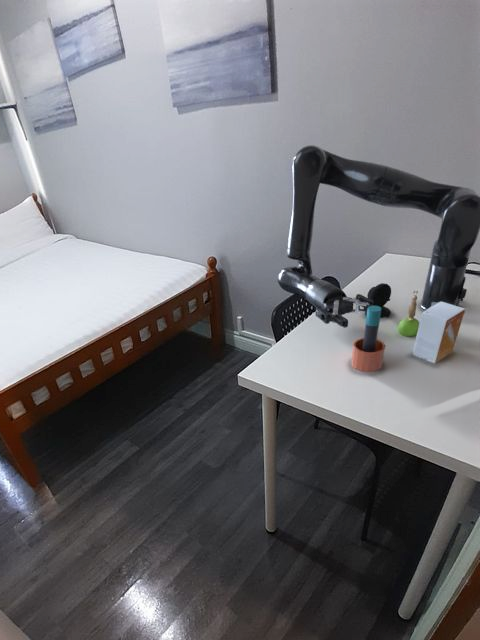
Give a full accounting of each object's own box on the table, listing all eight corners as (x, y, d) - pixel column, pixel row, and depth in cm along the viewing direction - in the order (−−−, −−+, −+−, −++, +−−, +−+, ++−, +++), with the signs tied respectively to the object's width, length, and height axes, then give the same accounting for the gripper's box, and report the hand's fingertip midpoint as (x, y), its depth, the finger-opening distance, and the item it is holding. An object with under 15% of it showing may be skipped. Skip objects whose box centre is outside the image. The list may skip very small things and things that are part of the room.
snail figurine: (418, 329, 116) (427, 291, 109) (418, 341, 111) (427, 301, 104) (397, 328, 118) (404, 290, 111) (396, 339, 114) (403, 300, 106)
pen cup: (369, 355, 109) (372, 334, 106) (388, 369, 104) (392, 347, 100) (345, 363, 108) (347, 342, 104) (363, 377, 102) (366, 356, 98)
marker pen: (367, 359, 107) (375, 304, 97) (375, 364, 104) (384, 309, 95) (357, 362, 106) (364, 307, 97) (365, 368, 104) (373, 312, 94)
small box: (434, 366, 102) (446, 320, 94) (411, 356, 106) (420, 312, 99) (453, 353, 105) (466, 308, 97) (429, 344, 110) (440, 300, 102)
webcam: (377, 306, 130) (381, 276, 124) (396, 314, 124) (401, 284, 118) (358, 313, 128) (362, 284, 122) (377, 322, 122) (381, 292, 116)
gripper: (302, 290, 111) (338, 313, 98) (347, 277, 113) (388, 298, 101) (302, 315, 115) (335, 340, 103) (345, 302, 118) (383, 325, 105)
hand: (361, 319), depth 102 cm, fingers open, 8 cm apart
